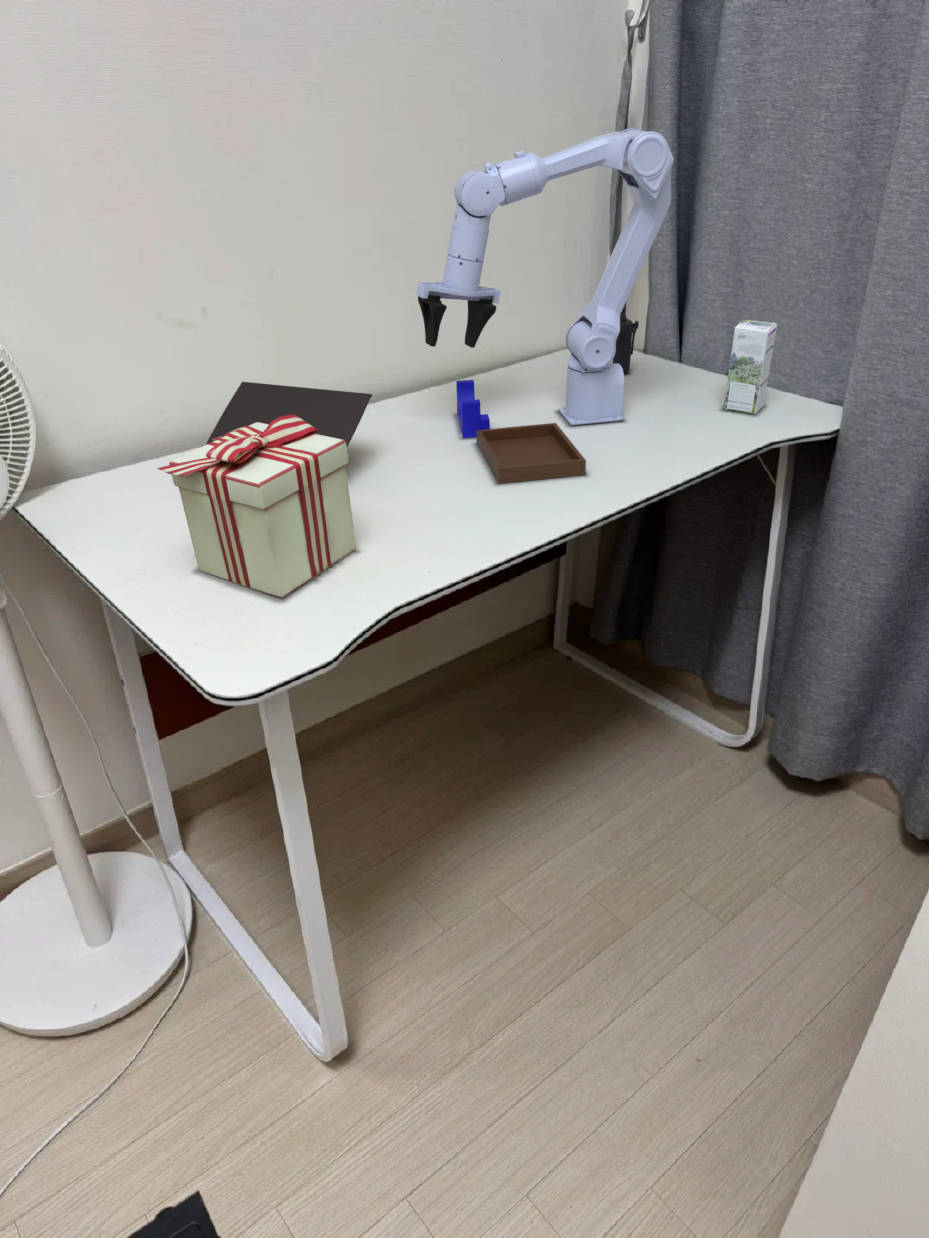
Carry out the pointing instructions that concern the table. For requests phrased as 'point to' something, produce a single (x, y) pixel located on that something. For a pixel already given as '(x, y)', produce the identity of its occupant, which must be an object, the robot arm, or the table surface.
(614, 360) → the two-way radio
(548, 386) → the table surface
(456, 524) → the table surface
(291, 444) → the gift box
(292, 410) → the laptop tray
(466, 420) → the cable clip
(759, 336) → the syrup box
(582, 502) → the table surface
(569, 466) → the tray
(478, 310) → the robot arm
